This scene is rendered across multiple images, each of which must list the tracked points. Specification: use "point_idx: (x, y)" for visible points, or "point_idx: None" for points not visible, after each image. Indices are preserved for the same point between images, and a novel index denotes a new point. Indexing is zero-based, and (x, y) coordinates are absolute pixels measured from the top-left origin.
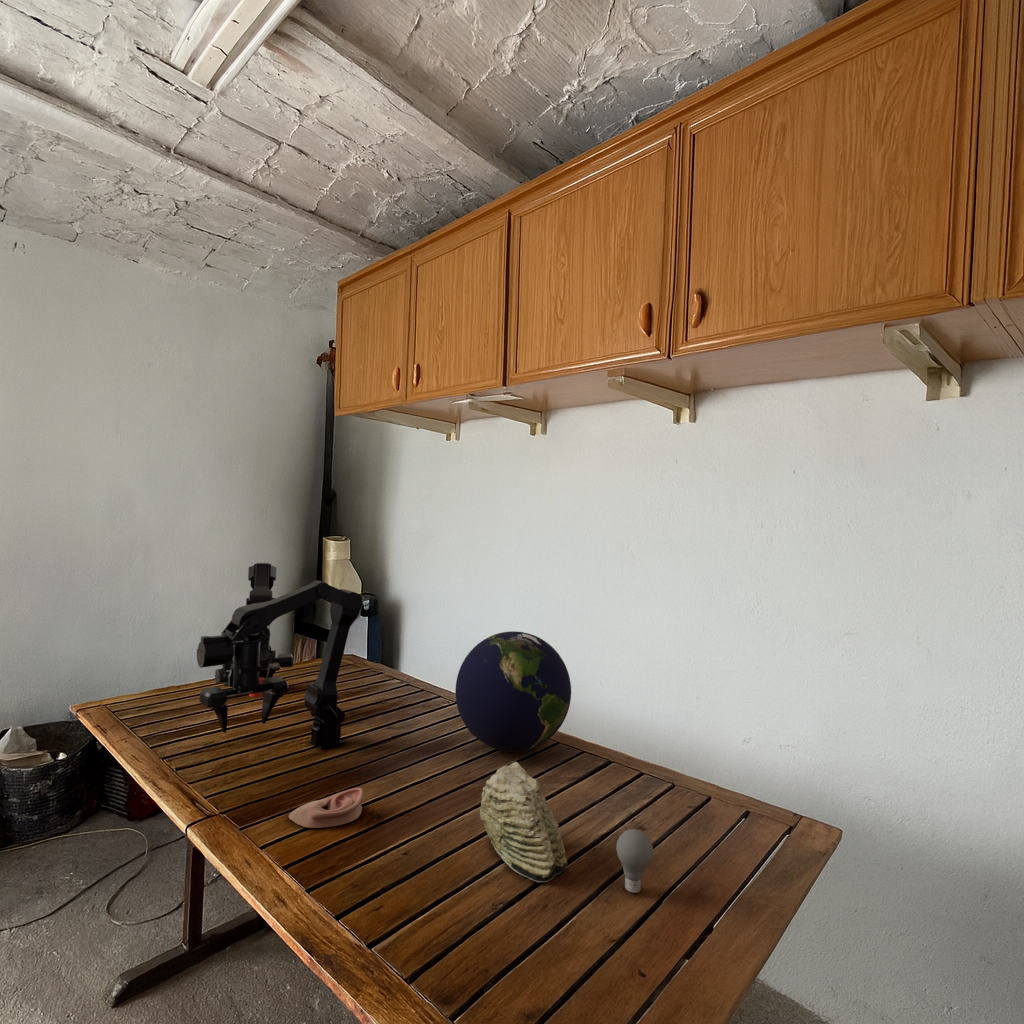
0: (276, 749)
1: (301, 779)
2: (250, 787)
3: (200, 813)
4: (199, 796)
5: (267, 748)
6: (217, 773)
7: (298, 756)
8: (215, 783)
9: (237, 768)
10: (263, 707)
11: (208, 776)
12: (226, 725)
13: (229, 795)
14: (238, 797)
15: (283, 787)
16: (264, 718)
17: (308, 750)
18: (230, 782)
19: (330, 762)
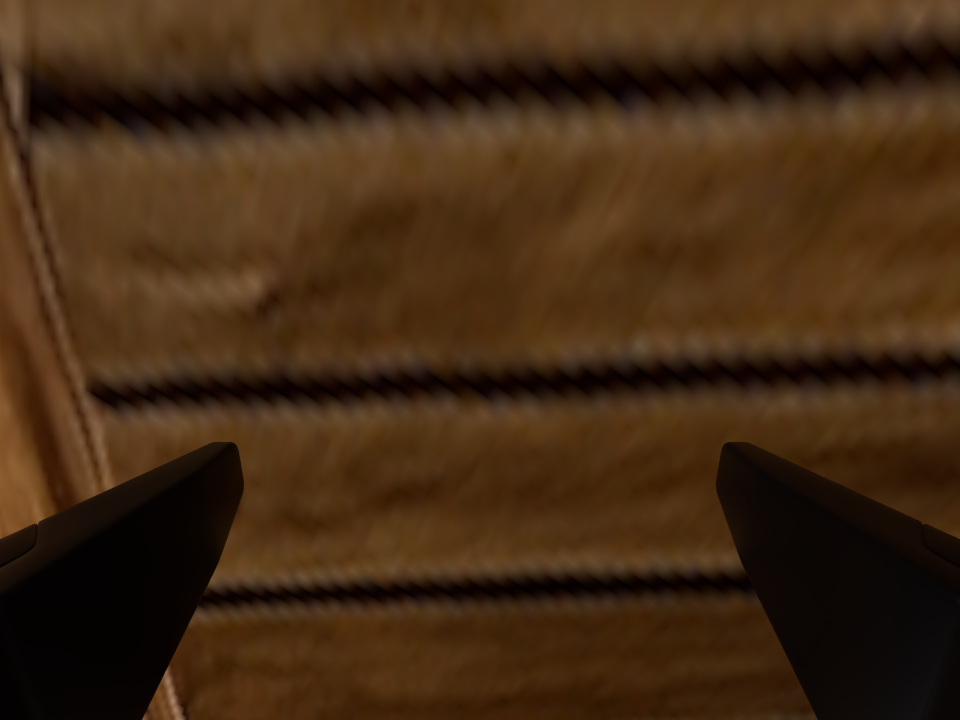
0: (803, 220)
1: (634, 692)
2: (385, 631)
3: None
4: None
5: (767, 150)
6: (283, 365)
7: (824, 437)
8: None
9: (419, 370)
10: (850, 577)
11: (221, 373)
12: (200, 585)
13: (266, 646)
14: (298, 684)
15: (518, 712)
16: (741, 548)
17: (943, 388)
18: (315, 524)
19: None
